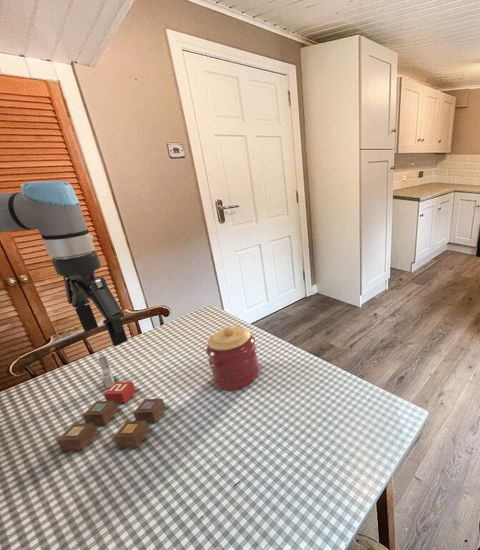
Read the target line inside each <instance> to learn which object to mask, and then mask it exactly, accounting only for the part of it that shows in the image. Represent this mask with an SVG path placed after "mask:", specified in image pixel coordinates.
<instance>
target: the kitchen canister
mask: <svg viewBox="0 0 480 550" xmlns="http://www.w3.org/2000/svg"><path fill="white" fill-rule="evenodd" d="M255 343H256V340H255V337H254V336H253V334H251V331H250V329H248V328H245V327H241V326H229V325H228V326H226V327H224V328H221V329H219V330H218V331H217V332H215V333H214V334H212V335H211V336H210V337H209V338H208V341H207V346H206V350H205V352H206V355H207V356H208V364H209V366H210V370H211V374H212V381H213V383H214V385H215V387H216V388H218V389H219V390H222V391H226V392H227V391H228V392H229V391H231V392H232V391H237V390H241V389H244V388H246V387H247V386H250V384H252V383H253V382H255V381H256V379H258V377H259V374H260V364H259V361H258V354H257V347H256V345H255Z"/></svg>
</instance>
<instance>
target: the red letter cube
mask: <svg viewBox="0 0 480 550" xmlns="http://www.w3.org/2000/svg"><path fill="white" fill-rule="evenodd" d="M135 393H136V389H135V386H134V383H133V381H118V382H117V381H116V382H115V381H114V384H113V385H112V386H111V387H110V388H108V389H107V390H106V391H105V392H104V393H103V396H104V399H105V401H115V403H116V405H117V404H126V403H127V402H128V400H129V399H131V397H132V396H133V395H134V394H135Z"/></svg>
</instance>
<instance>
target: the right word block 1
mask: <svg viewBox="0 0 480 550" xmlns="http://www.w3.org/2000/svg"><path fill="white" fill-rule="evenodd" d="M149 432H150V428H149V425H148V423H146V420H145V421H136V420H128V421H125V422H124V424H123V425H122V426H121V427H120V428H119V429H118V431H117V432H116V433H115V434H114V436H113V437H112V438H113V441H114V443H115V446H116V448H117V449H133V448H134V449H135V448H139V447H140V445H141V444H142V443H143V441H144V440H145V438H146V437H147V436H148V434H149Z"/></svg>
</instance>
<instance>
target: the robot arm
mask: <svg viewBox="0 0 480 550" xmlns="http://www.w3.org/2000/svg"><path fill="white" fill-rule="evenodd" d="M20 189H21V192H20V191H19V192H0V234H2V233H6V232H17V231H35V230H38V232H39V234H40V236H41V240H42V242H43V245H44V247H45V250H46V252H47V254H48V256H49V257H50V258H52V259H51V263H52V266H53V268H54V271H55V273H56V274H57V275H59V276H60V277H61V276H62V278H63V282H64V289H65V294H66V300H67V303H68V304H69V305H71V306H72V307H73V308H74V309H75V313H76V315H77V317H78V319H79V322H80V324H81V327H82V329H83V332H84V333H88V332H90V331H92V330H94V329H98V328H99V325H98V322H97V319H96V317H95V315H94V312H93V309H92V307H91V304H90V303H91V302H92V303H93V304H94V306H95V307H96V309H97V310H98V311H99V313H100V314H101V315H102V317H103V318H104V320H103V321H102V324H104V325H105V328H106V330H107V332H108V335H109V337H110V340H111V343H112V346H113V347H117V346H120V345H121V344H124V343H125V342H128V341H129V339H128V337H127V334H126V331H125V328H124V325H123V323H122V318H124V317H125V313H124V311H123V310H122V307H120V305H119V303H118V302H117V301H116V300H117V299H116V298H115V297H114V295H113V293H112V292H111V290H110V288H109V286H108V284H107V282H106V279H105V277H103V276H101V277H98V276H96V274H95V271H98V270H99V269H101V266H102V264H101V261H100V258H99V255H98V252H96V251H95V249H96V248H95V245H94V242H93V240H94V239H95V238H94V235H92V234H90V230H89V228H88V225H87V221H86V220H85V217H84V214H83V211H82V207H81V202H80V200H79V198H78V197H77V194H76V191H75V190H74V188H73V186H72V184H71V183H69V182H68V181H65V180H44V181H43V180H41V181H39V180H38V181H27V182H23V183H21V185H20Z"/></svg>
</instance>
